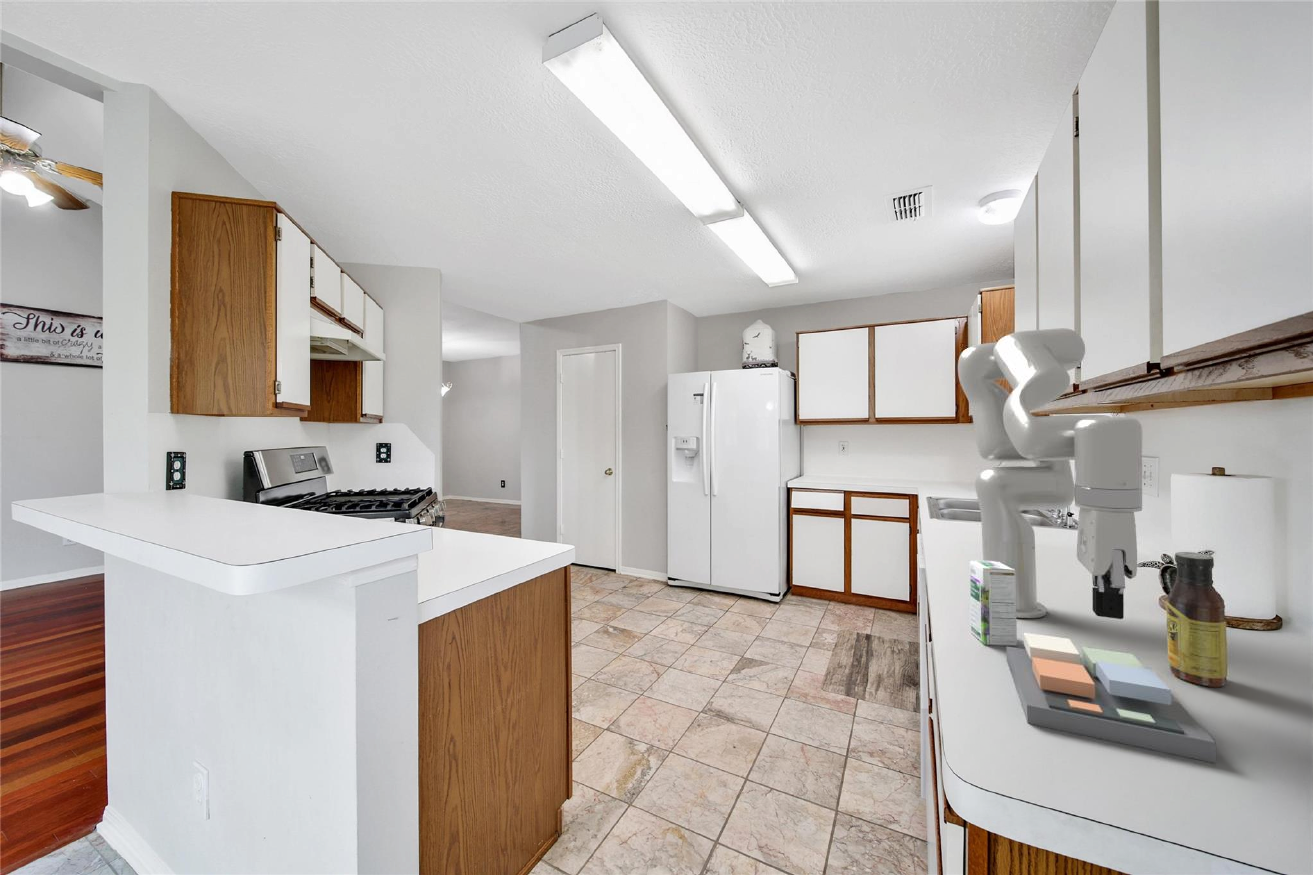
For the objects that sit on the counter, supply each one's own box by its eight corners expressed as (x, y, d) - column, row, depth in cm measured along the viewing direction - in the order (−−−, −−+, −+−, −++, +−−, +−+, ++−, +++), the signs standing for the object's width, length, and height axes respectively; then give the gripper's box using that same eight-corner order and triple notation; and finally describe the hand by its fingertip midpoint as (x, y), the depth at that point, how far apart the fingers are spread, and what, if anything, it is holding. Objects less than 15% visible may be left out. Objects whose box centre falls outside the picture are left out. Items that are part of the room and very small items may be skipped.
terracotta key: (1032, 669, 74) (1032, 657, 74) (1083, 678, 71) (1082, 665, 71) (1040, 688, 69) (1039, 674, 69) (1095, 698, 66) (1094, 684, 66)
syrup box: (969, 632, 95) (967, 560, 95) (1002, 633, 94) (1000, 560, 94) (984, 645, 89) (981, 568, 89) (1019, 646, 88) (1016, 568, 88)
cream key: (1023, 644, 81) (1023, 632, 81) (1069, 651, 78) (1069, 638, 78) (1030, 659, 75) (1030, 646, 75) (1080, 667, 72) (1079, 654, 72)
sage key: (1082, 659, 77) (1081, 646, 77) (1132, 666, 74) (1132, 654, 74) (1093, 676, 72) (1092, 662, 72) (1148, 685, 69) (1147, 671, 69)
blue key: (1096, 674, 70) (1095, 660, 70) (1152, 683, 67) (1151, 669, 67) (1109, 694, 65) (1109, 679, 65) (1171, 704, 62) (1170, 689, 62)
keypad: (1006, 660, 83) (1006, 642, 83) (1148, 683, 74) (1148, 664, 74) (1027, 722, 66) (1026, 700, 66) (1216, 763, 57) (1215, 737, 57)
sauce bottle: (1171, 665, 80) (1168, 546, 80) (1229, 679, 75) (1226, 553, 75) (1164, 678, 76) (1161, 554, 76) (1226, 694, 71) (1222, 561, 71)
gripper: (1063, 489, 81) (1064, 595, 82) (1089, 505, 68) (1090, 631, 69) (1123, 491, 77) (1123, 601, 78) (1162, 508, 64) (1162, 641, 65)
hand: (1107, 615), depth 74 cm, fingers closed
